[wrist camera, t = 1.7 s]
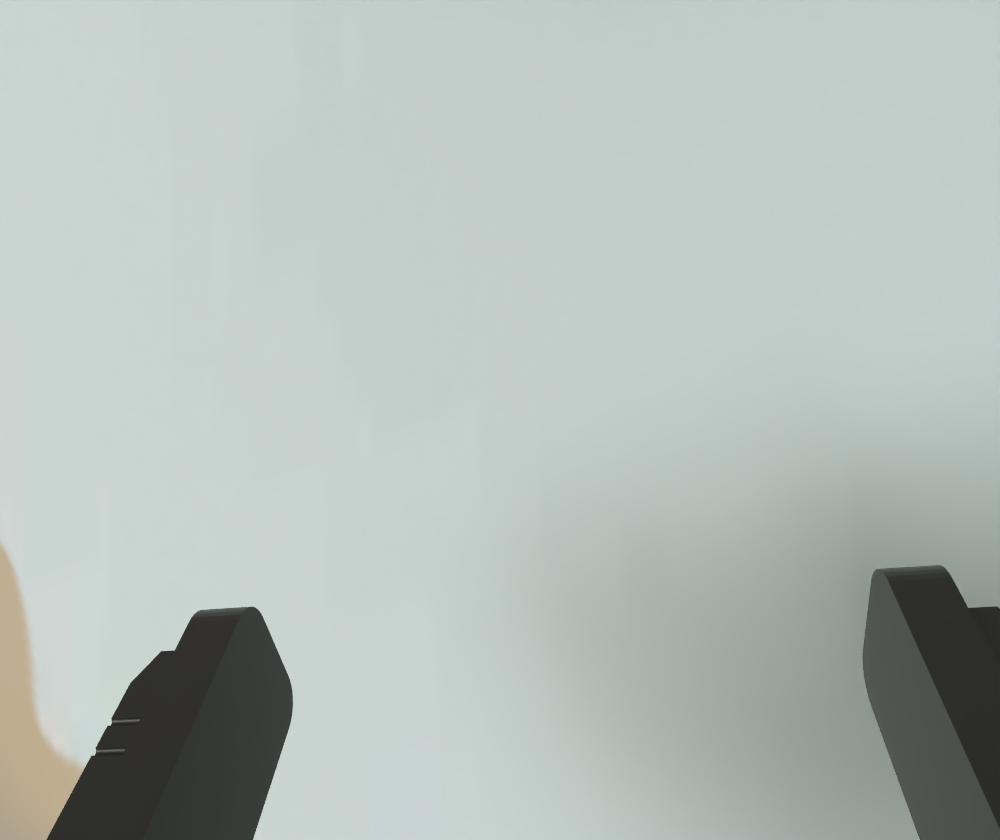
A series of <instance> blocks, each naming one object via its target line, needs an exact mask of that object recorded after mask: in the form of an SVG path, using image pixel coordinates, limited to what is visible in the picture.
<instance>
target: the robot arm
mask: <svg viewBox="0 0 1000 840" xmlns="http://www.w3.org/2000/svg"><path fill="white" fill-rule="evenodd" d="M863 669H864V677H865V683H866V688H867V692H868V696H869V700H870V703H871V706H872V709H873V711H874V714H875V717H876V720H877V722H878V725H879V728H880V731H881V733H882V736H883V739H884V742H885V744H886V747H887V750H888V753H889V755H890V758H891V761H892V764H893V766H894V769H895V772H896V775H897V777H898V780H899V783H900V786H901V788H902V791H903V794H904V797H905V799H906V802H907V805H908V808H909V811H910V813H911V816H912V819H913V822H914V824H915V827H916V830H917V833H918V835H919V838H920V840H1000V609H999V608H998V607H979V608H968V607H967V605H966V603H965V601H964V599H963V598H962V596H961V594H960V592H959V590H958V588H957V586H956V585H955V583H954V581H953V579H952V577H951V576H950V574H949V572H948V571H947V570H946V569H945V568H944V567H943V566H940V565H936V566H920V567H904V568H889V569H876V570H875V571H874V573H873V575H872V580H871V588H870V596H869V605H868V613H867V622H866V630H865V639H864V648H863ZM292 708H293V696H292V687H291V683H290V679H289V677H288V674H287V672H286V670H285V667H284V665H283V663H282V660H281V658H280V656H279V653H278V651H277V649H276V646H275V644H274V642H273V639H272V637H271V635H270V632H269V630H268V628H267V626H266V623H265V621H264V619H263V616H262V615H261V613H260V611H259V610H258V609H256V608H255V607H241V608H225V609H210V610H200V611H198V612H197V613H195V614H194V616H193V617H192V618H191V620H190V621H189V623H188V625H187V627H186V629H185V631H184V633H183V635H182V637H181V639H180V641H179V643H178V645H177V647H176V649H175V651H161V652H160V653H159V654H158V655H157V656H156V657H155V658H154V659H153V661H152V662H151V663H150V664H149V665H148V666H147V667H146V668H145V669H144V670H143V671H142V672H141V673H140V674H139V675H138V676H137V677H136V678H135V679H134V680H133V681H132V682H131V683H130V685H129V687H128V689H127V691H126V693H125V694H124V696H123V698H122V700H121V702H120V704H119V706H118V707H117V709H116V711H115V713H114V715H113V717H112V724H111V726H107V728H106V730H105V732H104V734H103V735H102V737H101V739H100V741H99V743H98V745H97V747H96V754H95V756H91V758H90V760H89V761H88V763H87V765H86V767H85V769H84V771H83V773H82V775H81V776H80V778H79V780H78V782H77V784H76V786H75V788H74V790H73V791H72V793H71V795H70V797H69V799H68V801H67V803H66V805H65V806H64V808H63V810H62V812H61V814H60V816H59V817H58V819H57V821H56V823H55V825H54V827H53V829H52V831H51V832H50V834H49V836H48V838H47V840H253V837H254V834H255V831H256V828H257V825H258V822H259V819H260V816H261V813H262V810H263V807H264V804H265V800H266V797H267V794H268V791H269V788H270V785H271V782H272V779H273V776H274V773H275V770H276V767H277V763H278V760H279V757H280V754H281V751H282V748H283V745H284V742H285V739H286V736H287V733H288V730H289V726H290V722H291V717H292Z"/></svg>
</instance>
